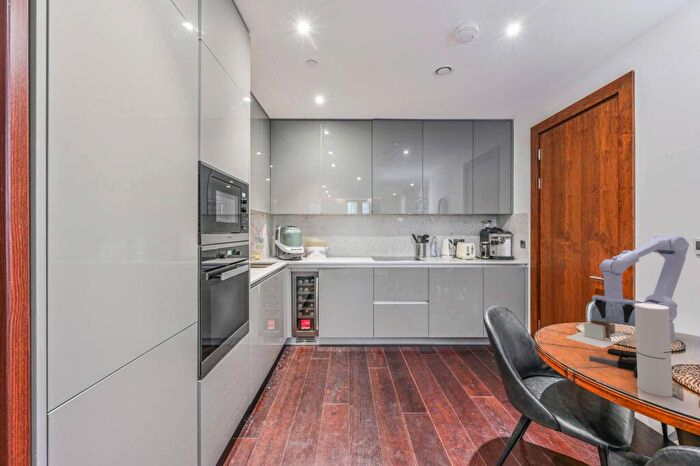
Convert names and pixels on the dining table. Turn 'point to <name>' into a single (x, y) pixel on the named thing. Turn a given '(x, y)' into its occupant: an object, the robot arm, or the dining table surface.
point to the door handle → (619, 360)
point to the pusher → (608, 327)
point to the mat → (595, 342)
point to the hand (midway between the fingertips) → (614, 320)
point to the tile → (594, 331)
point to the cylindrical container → (653, 349)
